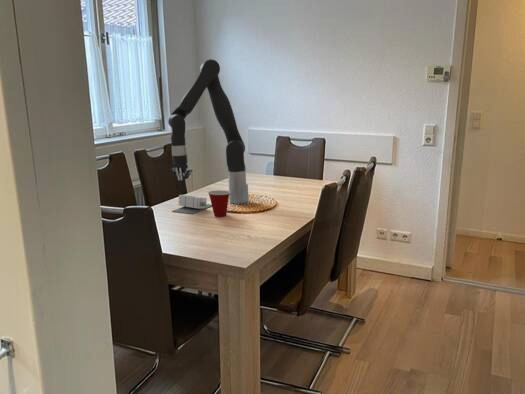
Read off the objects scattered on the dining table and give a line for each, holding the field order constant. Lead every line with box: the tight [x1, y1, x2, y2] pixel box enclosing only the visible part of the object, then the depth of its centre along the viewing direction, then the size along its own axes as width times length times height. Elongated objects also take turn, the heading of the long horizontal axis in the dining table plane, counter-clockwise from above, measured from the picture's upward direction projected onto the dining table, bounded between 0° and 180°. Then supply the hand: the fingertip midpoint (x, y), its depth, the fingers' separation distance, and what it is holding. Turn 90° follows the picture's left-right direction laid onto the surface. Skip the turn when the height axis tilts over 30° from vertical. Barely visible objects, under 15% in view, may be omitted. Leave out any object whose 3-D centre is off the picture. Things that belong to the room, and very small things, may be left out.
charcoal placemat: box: [172, 203, 212, 215], centre depth 248 cm, size 13×18×1 cm
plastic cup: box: [207, 190, 231, 218], centre depth 232 cm, size 11×11×12 cm
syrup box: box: [178, 194, 208, 210], centre depth 247 cm, size 6×6×14 cm
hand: (182, 187), depth 249 cm, fingers closed
